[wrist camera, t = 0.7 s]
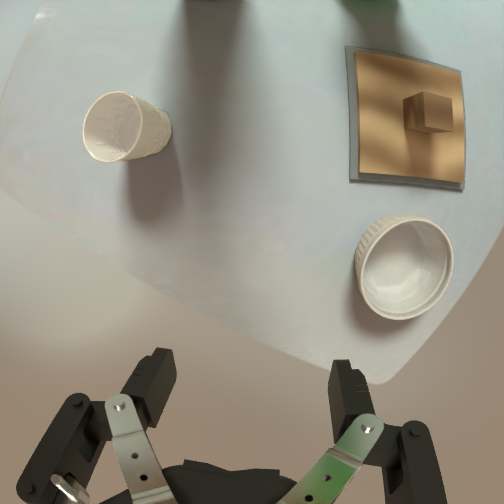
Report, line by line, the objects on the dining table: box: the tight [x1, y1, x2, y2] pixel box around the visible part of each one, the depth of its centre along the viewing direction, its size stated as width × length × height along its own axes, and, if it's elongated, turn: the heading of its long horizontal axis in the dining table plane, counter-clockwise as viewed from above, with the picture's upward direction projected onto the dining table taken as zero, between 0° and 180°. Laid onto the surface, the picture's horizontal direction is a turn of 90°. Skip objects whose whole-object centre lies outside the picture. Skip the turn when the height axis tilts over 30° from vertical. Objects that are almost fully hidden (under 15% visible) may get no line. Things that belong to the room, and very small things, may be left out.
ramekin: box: [355, 214, 454, 320], centre depth 34 cm, size 13×13×7 cm
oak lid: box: [354, 51, 464, 183], centre depth 27 cm, size 16×16×7 cm
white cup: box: [83, 91, 171, 163], centre depth 30 cm, size 8×8×10 cm
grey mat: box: [345, 46, 466, 190], centre depth 31 cm, size 18×18×1 cm
